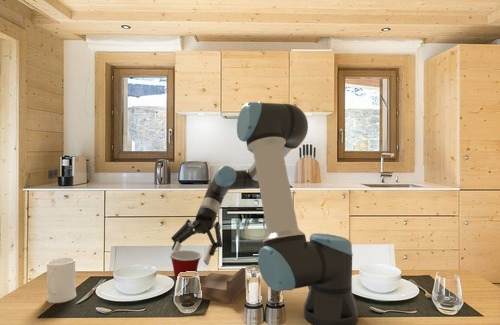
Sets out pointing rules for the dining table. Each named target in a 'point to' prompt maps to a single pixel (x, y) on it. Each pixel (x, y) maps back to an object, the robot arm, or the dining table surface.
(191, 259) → the plastic cup
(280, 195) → the robot arm
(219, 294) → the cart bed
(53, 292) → the mug
